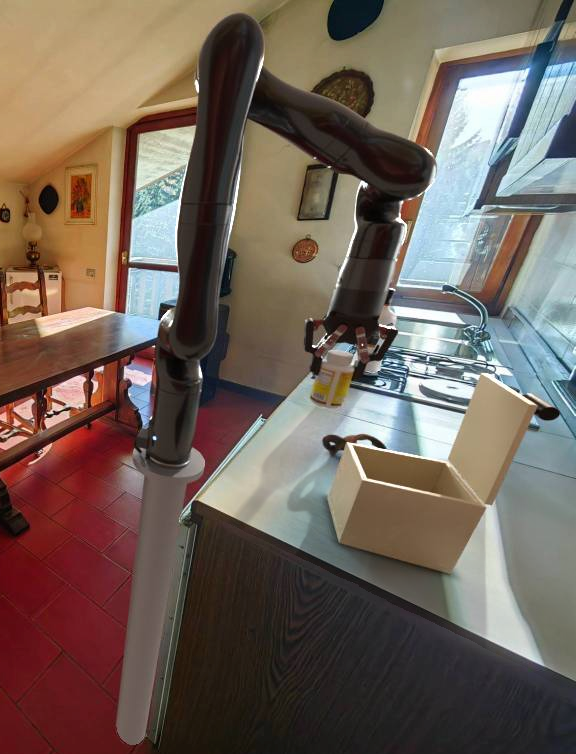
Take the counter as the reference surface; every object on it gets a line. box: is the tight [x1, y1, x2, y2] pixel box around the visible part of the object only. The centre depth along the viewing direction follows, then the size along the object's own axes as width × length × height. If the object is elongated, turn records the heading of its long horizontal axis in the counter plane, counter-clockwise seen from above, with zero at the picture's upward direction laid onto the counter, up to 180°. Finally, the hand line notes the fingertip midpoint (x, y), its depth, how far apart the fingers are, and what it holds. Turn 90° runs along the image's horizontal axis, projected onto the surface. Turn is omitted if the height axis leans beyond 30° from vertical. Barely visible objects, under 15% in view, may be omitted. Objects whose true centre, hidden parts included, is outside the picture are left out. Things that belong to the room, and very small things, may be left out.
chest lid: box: [447, 372, 561, 506], centre depth 56 cm, size 15×13×5 cm
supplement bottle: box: [309, 349, 355, 410], centre depth 73 cm, size 6×6×10 cm
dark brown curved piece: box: [321, 433, 388, 458], centre depth 86 cm, size 12×10×8 cm
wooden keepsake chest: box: [327, 442, 487, 575], centre depth 65 cm, size 15×13×13 cm
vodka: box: [351, 288, 398, 377], centre depth 136 cm, size 9×9×30 cm
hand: (333, 376), depth 73 cm, fingers closed on supplement bottle, 5 cm apart
